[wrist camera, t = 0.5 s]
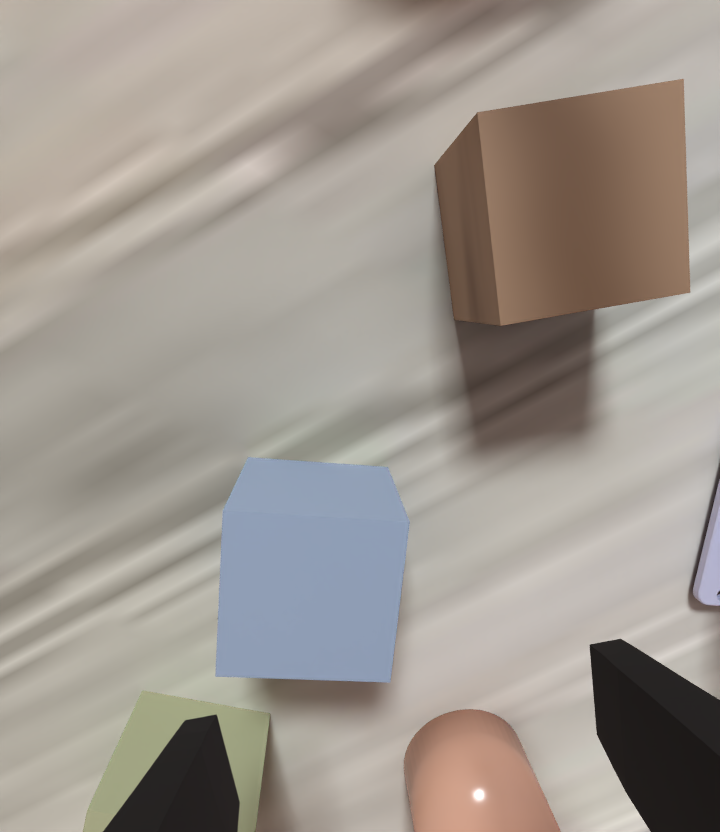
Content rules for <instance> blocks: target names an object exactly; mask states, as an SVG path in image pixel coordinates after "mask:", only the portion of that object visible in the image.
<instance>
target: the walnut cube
mask: <svg viewBox="0 0 720 832" xmlns="http://www.w3.org/2000/svg"><path fill="white" fill-rule="evenodd" d="M434 166H435V174H436V182H437V190H438V198H439V205H440V213H441V221H442V229H443V237H444V245H445V252H446V260H447V268H448V276H449V284H450V292H451V299H452V307H453V315H454V320H460V321H468V322H475V323H483V324H490V325H498V326H503V325H509V324H514V323H520V322H526V321H531V320H537V319H543V318H548V317H554V316H560V315H565V314H571V313H577V312H582V311H588V310H594V309H599V308H605V307H611V306H616V305H622V304H628V303H633V302H639V301H645V300H650V299H656V298H662V297H668V296H673V295H679V294H685V293H690V271H689V239H688V207H687V175H686V143H685V111H684V79H680V80H674V81H668V82H662V83H655V84H649V85H643V86H637V87H631V88H625V89H619V90H612V91H606V92H600V93H594V94H588V95H582V96H576V97H569V98H563V99H557V100H551V101H545V102H539V103H533V104H527V105H520V106H514V107H508V108H502V109H496V110H490V111H484V112H477V114H476V115H475V116H474V117H473V118H472V120H471V121H470V122H469V123H468V125H467V126H466V127H465V128H464V130H463V131H462V132H461V133H460V134H459V136H458V137H457V138H456V139H455V141H454V142H453V143H452V144H451V145H450V147H449V148H448V149H447V150H446V152H445V153H444V154H443V155H442V156H441V158H440V159H439V160H438V161H437V163H436V164H435V165H434Z"/></svg>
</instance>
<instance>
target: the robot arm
mask: <svg viewBox="0 0 720 832" xmlns="http://www.w3.org/2000/svg"><path fill="white" fill-rule="evenodd" d="M719 591H720V480H719V484H718V488H717V492H716V496H715V500H714V504H713V509H712V513H711V517H710V521H709V525H708V529H707V533H706V537H705V542H704V546H703V550H702V554H701V558H700V562H699V566H698V571H697V575H696V579H695V583H694V587H693V595H694V597H695V598H696V599H697V600H699V601H700V602H701V603H702V604H705V605H713V606H720V594H718V595H717V593H718V592H719ZM590 655H591V667H592V679H593V692H594V704H595V717H596V729H597V735H598V738H599V740H600V742H601V744H602V746H603V748H604V750H605V752H606V754H607V756H608V758H609V760H610V762H611V764H612V766H613V768H614V770H615V772H616V774H617V776H618V778H619V780H620V782H621V783H622V785H623V787H624V789H625V791H626V793H627V795H628V796H629V798H630V799H631V801H632V803H633V804H634V806H635V807H636V809H637V811H638V812H639V814H640V815H641V817H642V818H643V820H644V822H645V823H646V825H647V826H648V828H649V829H650V831H651V832H720V700H719V699H717V698H715V697H714V696H712V695H710V694H709V693H707V692H706V691H704V690H702V689H701V688H699V687H697V686H696V685H694V684H693V683H691V682H689V681H688V680H686V679H684V678H683V677H681V676H680V675H678V674H677V673H675V672H673V671H672V670H670V669H669V668H667V667H665V666H664V665H662V664H661V663H659V662H657V661H656V660H654V659H653V658H651V657H650V656H648V655H646V654H645V653H643V652H642V651H640V650H638V649H637V648H635V647H634V646H632V645H630V644H629V643H627V642H625V641H624V640H622V639H617V640H612V641H607V642H601V643H596V644H591V645H590ZM239 807H240V801H239V797H238V793H237V789H236V786H235V782H234V778H233V774H232V770H231V767H230V763H229V759H228V755H227V751H226V748H225V744H224V740H223V736H222V732H221V729H220V725H219V721H218V717H217V714H216V715H210V716H205V717H200V718H194V719H189V720H185V721H184V722H183V723H182V725H181V726H180V727H179V729H178V730H177V731H176V733H175V734H174V735H173V737H172V738H171V740H170V741H169V742H168V744H167V745H166V746H165V748H164V749H163V751H162V752H161V753H160V755H159V756H158V758H157V759H156V760H155V762H154V763H153V764H152V766H151V767H150V769H149V770H148V771H147V773H146V774H145V776H144V777H143V778H142V780H141V781H140V782H139V784H138V785H137V787H136V788H135V789H134V791H133V792H132V793H131V795H130V796H129V797H128V799H127V800H126V801H125V803H124V804H123V805H122V807H121V808H120V809H119V811H118V812H117V813H116V815H115V816H114V817H113V819H112V820H111V821H110V823H109V824H108V825H107V827H106V828H105V829H104V831H103V832H238V820H239Z"/></svg>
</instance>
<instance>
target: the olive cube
mask: <svg viewBox="0 0 720 832" xmlns="http://www.w3.org/2000/svg"><path fill="white" fill-rule="evenodd" d="M216 714H217V717H218V721H219V725H220V729H221V732H222V736H223V740H224V744H225V748H226V751H227V755H228V759H229V763H230V767H231V770H232V774H233V778H234V782H235V786H236V789H237V793H238V797H239V801H240V807H239V820H238V832H255V831H256V823H257V815H258V807H259V799H260V791H261V783H262V775H263V767H264V759H265V751H266V743H267V735H268V727H269V719H270V714H269V713H264V712H258V711H253V710H247V709H241V708H236V707H230V706H225V705H219V704H214V703H208V702H203V701H197V700H192V699H186V698H181V697H175V696H170V695H164V694H159V693H153V692H148V691H142V692H141V695H140V697H139V699H138V701H137V703H136V705H135V708H134V710H133V712H132V714H131V716H130V719H129V721H128V723H127V725H126V727H125V729H124V732H123V734H122V736H121V738H120V740H119V742H118V745H117V747H116V749H115V751H114V753H113V755H112V758H111V760H110V762H109V764H108V766H107V769H106V771H105V773H104V775H103V777H102V779H101V782H100V784H99V786H98V788H97V790H96V792H95V795H94V797H93V799H92V801H91V803H90V805H89V808H88V810H87V814H86V819H85V824H84V829H83V832H103V831H104V829H105V828H106V827H107V825H108V824H109V823H110V821H111V820H112V819H113V817H114V816H115V815H116V813H117V812H118V811H119V809H120V808H121V807H122V805H123V804H124V803H125V801H126V800H127V799H128V797H129V796H130V795H131V793H132V792H133V791H134V789H135V788H136V787H137V785H138V784H139V782H140V781H141V780H142V778H143V777H144V776H145V774H146V773H147V771H148V770H149V769H150V767H151V766H152V764H153V763H154V762H155V760H156V759H157V758H158V756H159V755H160V753H161V752H162V751H163V749H164V748H165V746H166V745H167V744H168V742H169V741H170V740H171V738H172V737H173V735H174V734H175V733H176V731H177V730H178V729H179V727H180V726H181V725H182V723H183V722H184V721H185V720H189V719H194V718H200V717H205V716H210V715H216Z"/></svg>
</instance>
